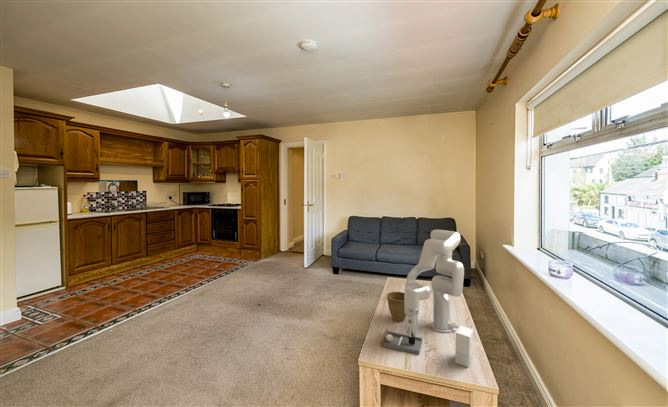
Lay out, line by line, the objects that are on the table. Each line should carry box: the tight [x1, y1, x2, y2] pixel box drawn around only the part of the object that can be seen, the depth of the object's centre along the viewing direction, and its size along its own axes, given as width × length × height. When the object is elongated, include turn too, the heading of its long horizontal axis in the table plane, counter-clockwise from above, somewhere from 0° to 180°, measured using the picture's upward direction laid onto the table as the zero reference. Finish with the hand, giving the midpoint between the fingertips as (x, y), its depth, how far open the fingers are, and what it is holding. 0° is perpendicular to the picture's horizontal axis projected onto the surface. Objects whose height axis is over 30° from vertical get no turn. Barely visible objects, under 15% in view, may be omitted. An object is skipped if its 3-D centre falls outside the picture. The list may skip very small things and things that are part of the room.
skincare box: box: [454, 325, 474, 368], centre depth 132 cm, size 8×7×16 cm
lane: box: [380, 328, 423, 356], centre depth 148 cm, size 20×13×4 cm, turn 65°
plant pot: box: [386, 291, 406, 323], centre depth 175 cm, size 15×15×16 cm
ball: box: [386, 334, 393, 342], centre depth 150 cm, size 4×4×4 cm
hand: (411, 343), depth 146 cm, fingers closed
